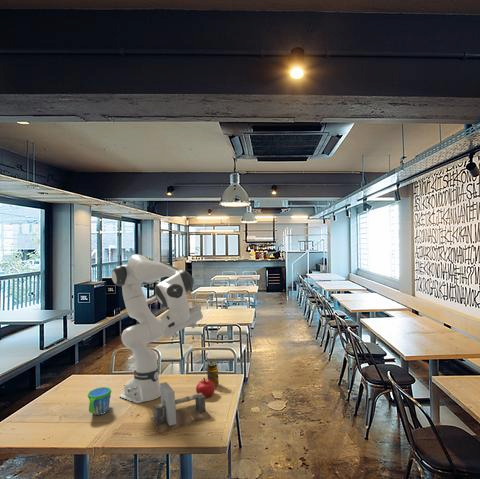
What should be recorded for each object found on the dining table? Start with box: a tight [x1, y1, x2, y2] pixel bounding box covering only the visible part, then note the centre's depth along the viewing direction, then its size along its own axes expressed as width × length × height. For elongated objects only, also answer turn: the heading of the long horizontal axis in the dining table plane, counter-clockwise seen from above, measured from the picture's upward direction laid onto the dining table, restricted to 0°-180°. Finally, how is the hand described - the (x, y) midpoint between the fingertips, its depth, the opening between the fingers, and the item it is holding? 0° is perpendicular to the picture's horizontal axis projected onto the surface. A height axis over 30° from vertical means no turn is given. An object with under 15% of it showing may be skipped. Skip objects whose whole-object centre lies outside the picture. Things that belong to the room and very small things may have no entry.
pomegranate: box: [195, 377, 216, 398], centre depth 187 cm, size 10×10×9 cm
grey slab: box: [159, 381, 177, 426], centre depth 161 cm, size 3×13×14 cm, turn 27°
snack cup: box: [87, 386, 112, 415], centre depth 174 cm, size 16×10×10 cm
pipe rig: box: [150, 393, 211, 434], centre depth 164 cm, size 24×14×9 cm, turn 118°
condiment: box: [206, 362, 222, 389], centre depth 198 cm, size 7×8×12 cm
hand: (184, 331), depth 171 cm, fingers open, 8 cm apart
